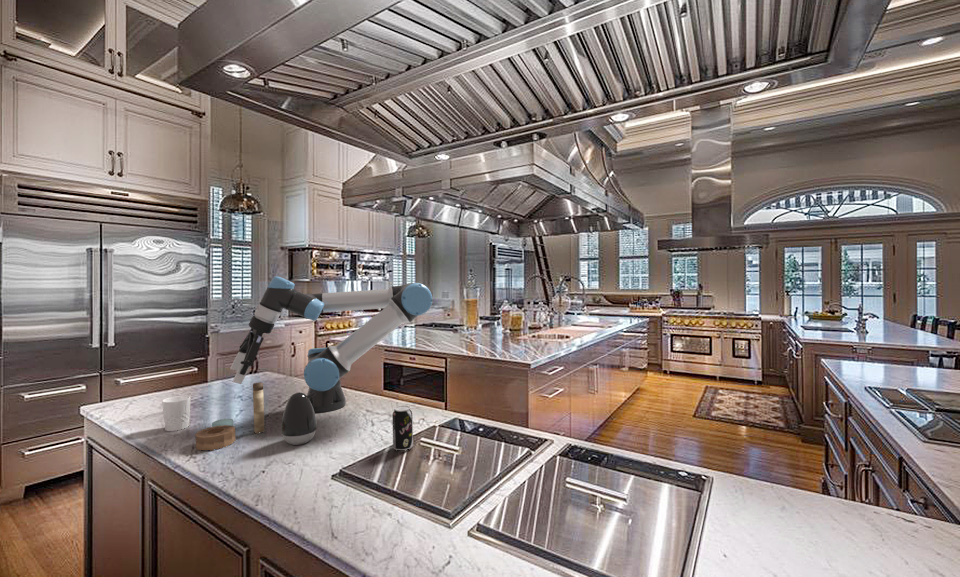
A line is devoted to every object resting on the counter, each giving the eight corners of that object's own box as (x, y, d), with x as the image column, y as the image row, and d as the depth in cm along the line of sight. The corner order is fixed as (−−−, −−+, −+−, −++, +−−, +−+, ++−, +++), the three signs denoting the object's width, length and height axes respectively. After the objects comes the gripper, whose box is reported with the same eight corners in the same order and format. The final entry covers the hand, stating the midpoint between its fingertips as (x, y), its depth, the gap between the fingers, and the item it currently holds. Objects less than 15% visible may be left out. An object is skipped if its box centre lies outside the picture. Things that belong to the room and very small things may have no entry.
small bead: (236, 428, 145) (235, 418, 145) (229, 434, 139) (229, 424, 139) (216, 429, 144) (216, 419, 143) (209, 436, 138) (208, 425, 138)
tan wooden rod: (265, 429, 142) (264, 382, 142) (263, 433, 139) (261, 384, 139) (256, 430, 142) (254, 382, 141) (253, 433, 139) (251, 385, 138)
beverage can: (416, 445, 127) (415, 405, 126) (407, 453, 121) (406, 411, 121) (399, 443, 129) (398, 404, 128) (389, 451, 123) (388, 410, 123)
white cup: (196, 424, 149) (195, 395, 149) (178, 432, 141) (177, 402, 141) (176, 423, 150) (175, 395, 150) (156, 431, 142) (155, 402, 142)
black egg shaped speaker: (324, 440, 132) (322, 391, 132) (290, 451, 124) (288, 399, 124) (308, 432, 139) (307, 386, 138) (275, 442, 131) (274, 393, 131)
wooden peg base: (239, 436, 137) (239, 424, 136) (227, 448, 127) (227, 435, 127) (205, 439, 135) (204, 426, 135) (190, 452, 125) (189, 438, 125)
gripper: (249, 308, 156) (222, 362, 154) (257, 323, 136) (225, 385, 134) (270, 315, 161) (243, 368, 158) (280, 331, 140) (250, 391, 138)
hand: (235, 376), depth 146 cm, fingers open, 13 cm apart
